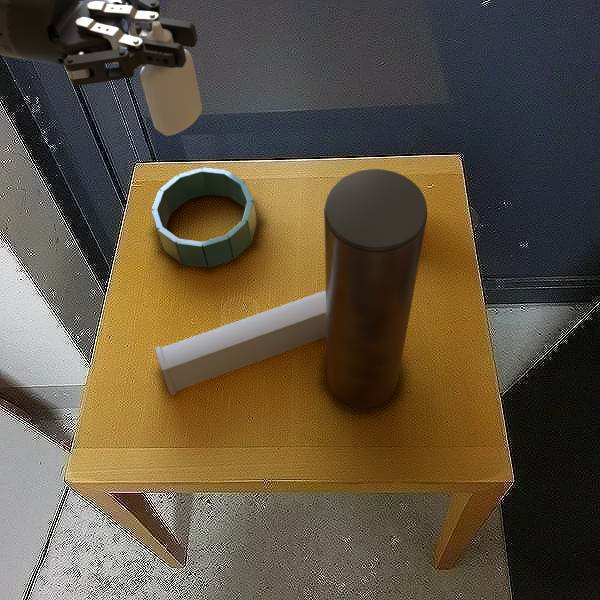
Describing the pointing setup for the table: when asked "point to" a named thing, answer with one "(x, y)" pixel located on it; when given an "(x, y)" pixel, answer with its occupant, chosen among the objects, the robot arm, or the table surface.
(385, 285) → the stand
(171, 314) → the table surface
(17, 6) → the robot arm
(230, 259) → the teal segmented ring
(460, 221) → the table surface
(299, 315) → the tube
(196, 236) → the table surface
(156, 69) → the eye dropper bottle
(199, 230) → the table surface
